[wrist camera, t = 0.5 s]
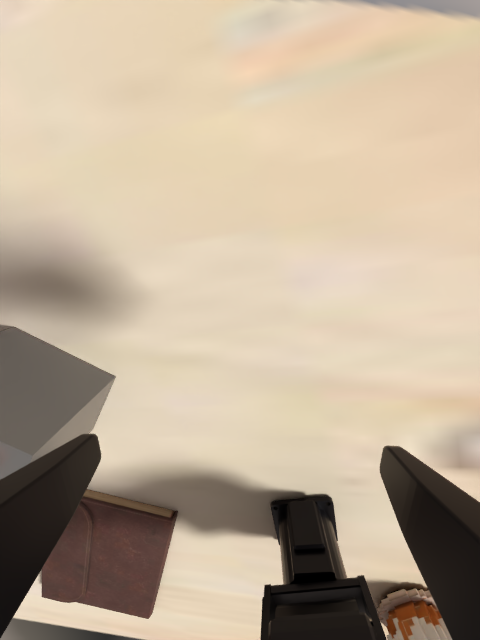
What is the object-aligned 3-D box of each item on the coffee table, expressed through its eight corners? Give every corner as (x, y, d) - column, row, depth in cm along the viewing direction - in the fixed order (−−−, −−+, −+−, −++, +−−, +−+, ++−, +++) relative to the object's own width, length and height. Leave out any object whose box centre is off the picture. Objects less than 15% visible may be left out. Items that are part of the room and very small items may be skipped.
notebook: (179, 506, 28) (174, 525, 26) (155, 603, 34) (149, 624, 32) (53, 475, 28) (38, 491, 26) (50, 577, 34) (38, 597, 32)
